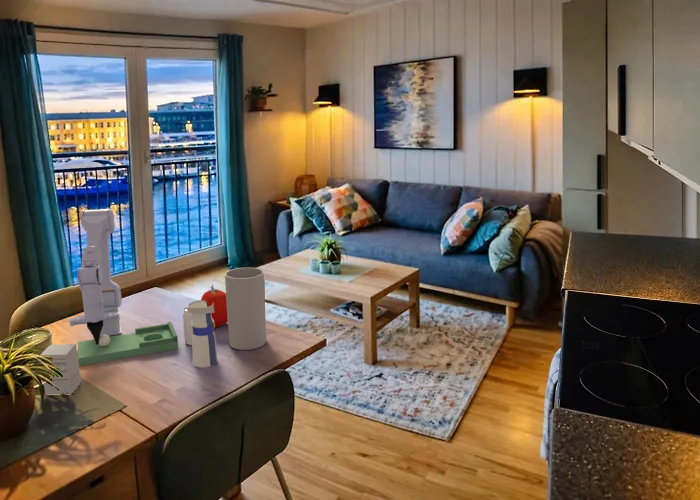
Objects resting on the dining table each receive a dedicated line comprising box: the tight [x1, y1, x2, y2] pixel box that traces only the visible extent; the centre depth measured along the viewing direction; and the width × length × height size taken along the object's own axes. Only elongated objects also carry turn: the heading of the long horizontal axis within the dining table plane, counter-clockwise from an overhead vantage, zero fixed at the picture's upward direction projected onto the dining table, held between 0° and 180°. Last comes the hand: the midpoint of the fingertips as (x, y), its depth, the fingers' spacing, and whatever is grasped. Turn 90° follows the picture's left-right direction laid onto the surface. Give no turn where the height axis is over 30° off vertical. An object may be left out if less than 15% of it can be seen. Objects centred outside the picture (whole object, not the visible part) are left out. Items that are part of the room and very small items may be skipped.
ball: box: [98, 334, 111, 347], centre depth 183 cm, size 4×4×4 cm
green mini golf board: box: [77, 321, 179, 367], centre depth 187 cm, size 14×30×4 cm, turn 115°
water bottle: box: [186, 283, 219, 369], centre depth 175 cm, size 8×9×25 cm
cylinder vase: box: [224, 267, 267, 351], centre depth 188 cm, size 12×12×25 cm
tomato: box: [200, 288, 228, 328], centre depth 205 cm, size 13×11×14 cm
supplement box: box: [40, 343, 82, 395], centre depth 159 cm, size 7×7×13 cm
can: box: [182, 306, 193, 346], centre depth 191 cm, size 6×6×12 cm
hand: (97, 343), depth 182 cm, fingers closed, pressing on ball
